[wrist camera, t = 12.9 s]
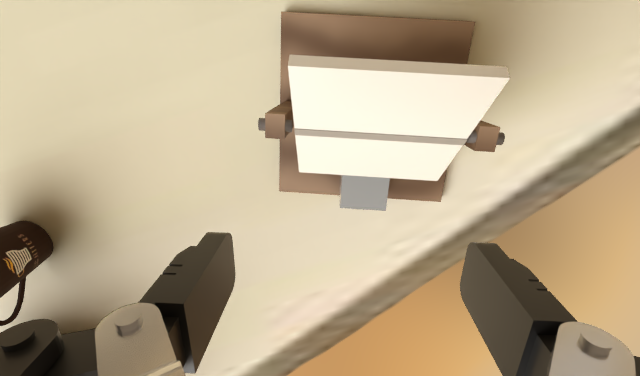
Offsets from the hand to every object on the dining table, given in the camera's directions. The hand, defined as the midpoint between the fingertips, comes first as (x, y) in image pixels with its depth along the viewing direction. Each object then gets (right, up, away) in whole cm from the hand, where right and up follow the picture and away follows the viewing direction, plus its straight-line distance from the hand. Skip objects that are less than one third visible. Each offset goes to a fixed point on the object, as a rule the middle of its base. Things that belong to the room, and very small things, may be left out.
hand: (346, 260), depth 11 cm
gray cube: (+4, +6, +25) cm, 26 cm away
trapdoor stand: (+5, +11, +27) cm, 30 cm away
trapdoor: (+4, +7, +16) cm, 18 cm away
